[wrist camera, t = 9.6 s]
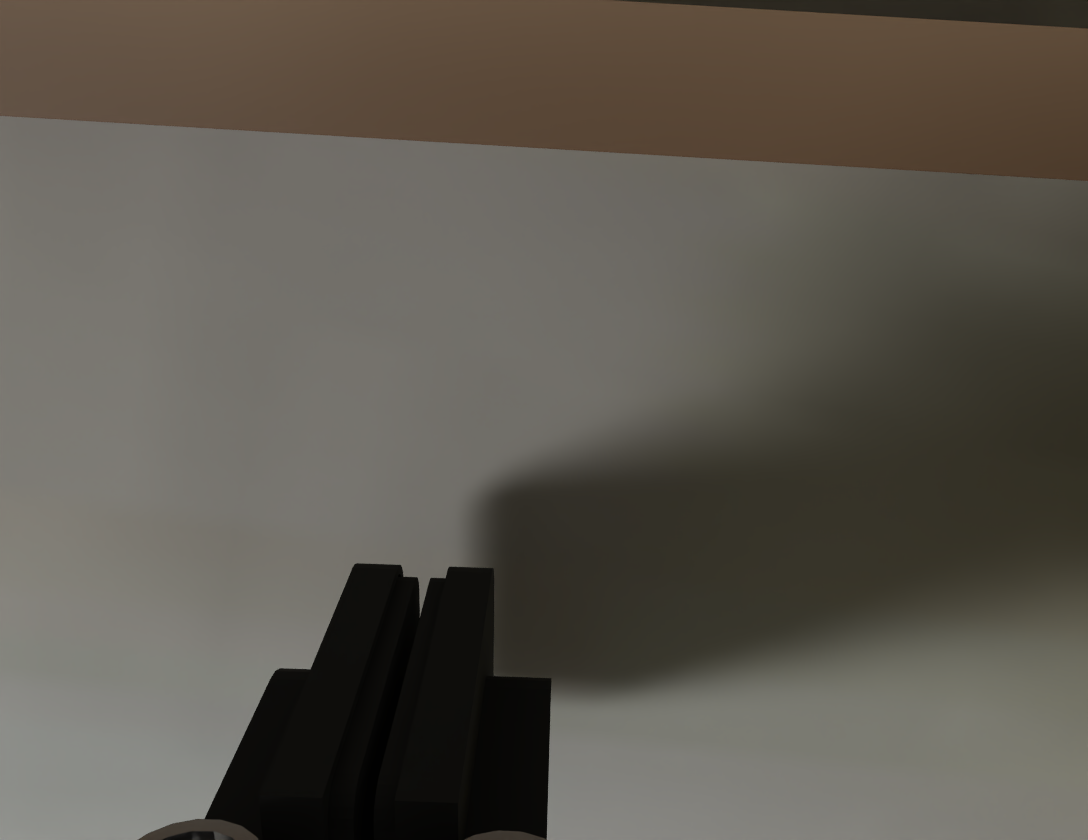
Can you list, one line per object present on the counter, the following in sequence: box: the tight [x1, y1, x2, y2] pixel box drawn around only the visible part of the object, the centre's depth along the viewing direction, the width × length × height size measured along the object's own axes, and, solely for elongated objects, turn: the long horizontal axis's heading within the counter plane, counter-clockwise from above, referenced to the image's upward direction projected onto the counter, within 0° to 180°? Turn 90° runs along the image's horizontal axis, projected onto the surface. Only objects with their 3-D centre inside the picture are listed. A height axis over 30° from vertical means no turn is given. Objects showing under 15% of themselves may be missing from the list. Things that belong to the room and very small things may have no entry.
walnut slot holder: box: [0, 0, 1088, 181], centre depth 12 cm, size 15×12×2 cm
